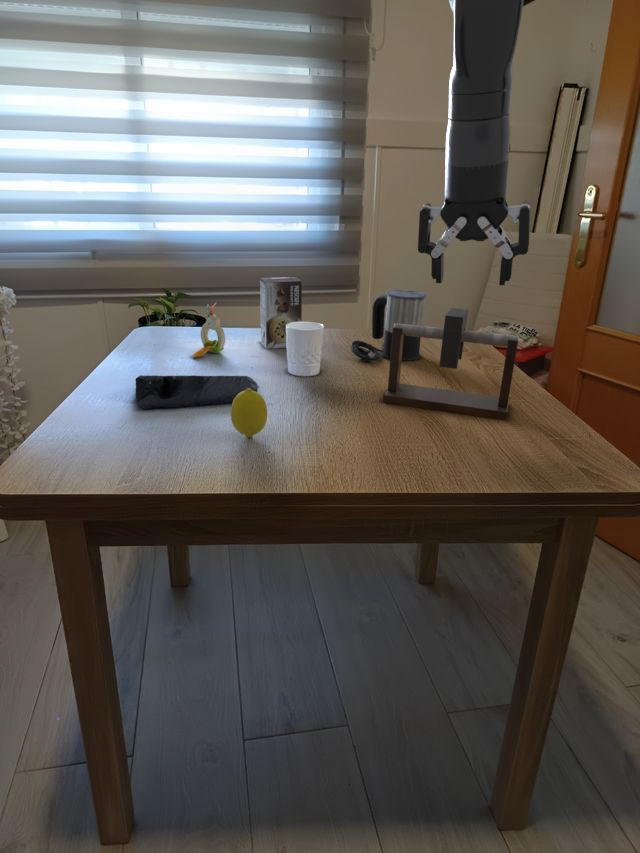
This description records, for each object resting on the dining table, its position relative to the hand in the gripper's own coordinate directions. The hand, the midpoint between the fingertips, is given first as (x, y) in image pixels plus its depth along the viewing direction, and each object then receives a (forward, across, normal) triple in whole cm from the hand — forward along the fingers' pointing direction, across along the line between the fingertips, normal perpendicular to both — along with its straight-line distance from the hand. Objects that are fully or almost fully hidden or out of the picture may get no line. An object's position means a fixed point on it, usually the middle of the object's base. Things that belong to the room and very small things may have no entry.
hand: (470, 282), depth 80 cm
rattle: (+29, -62, +22) cm, 72 cm away
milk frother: (+35, -23, +37) cm, 56 cm away
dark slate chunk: (+22, -48, -3) cm, 53 cm away
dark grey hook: (+21, -4, +13) cm, 25 cm away
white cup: (+29, -36, +18) cm, 50 cm away
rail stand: (+29, -5, +11) cm, 31 cm away
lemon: (+20, -31, -16) cm, 40 cm away
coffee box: (+34, -49, +37) cm, 70 cm away
